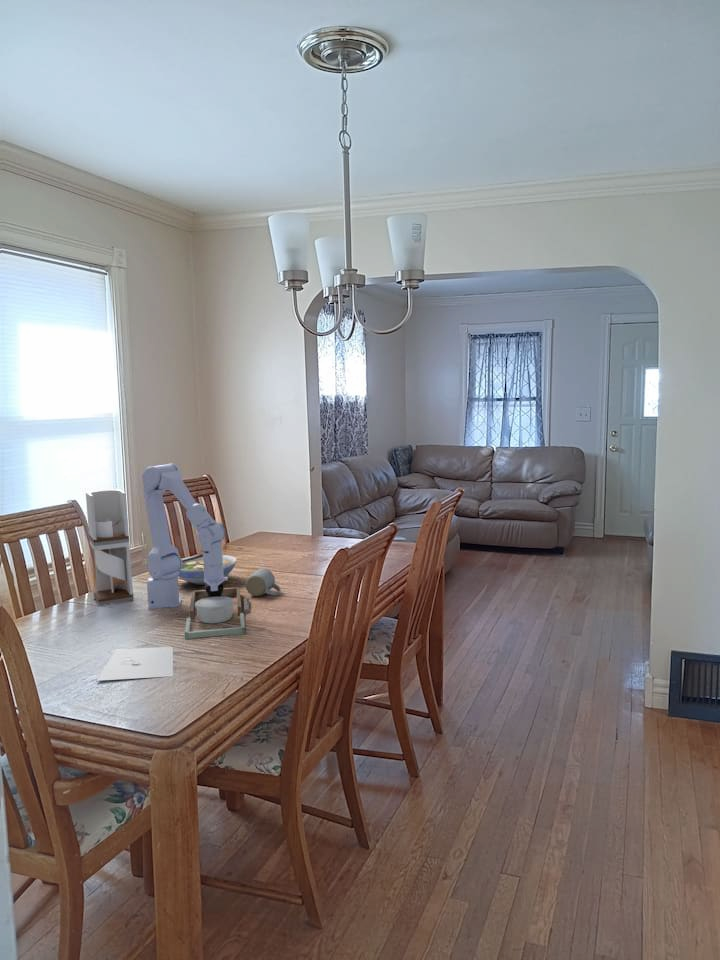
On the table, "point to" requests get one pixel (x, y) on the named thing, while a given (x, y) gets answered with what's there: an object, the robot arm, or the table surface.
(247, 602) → the grey metal bar
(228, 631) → the sage bay
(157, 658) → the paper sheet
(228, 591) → the brown wooden flat frame
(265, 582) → the ceramic mug
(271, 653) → the table surface
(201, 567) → the ramen bowl
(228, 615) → the ramekin
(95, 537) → the white toy tower
